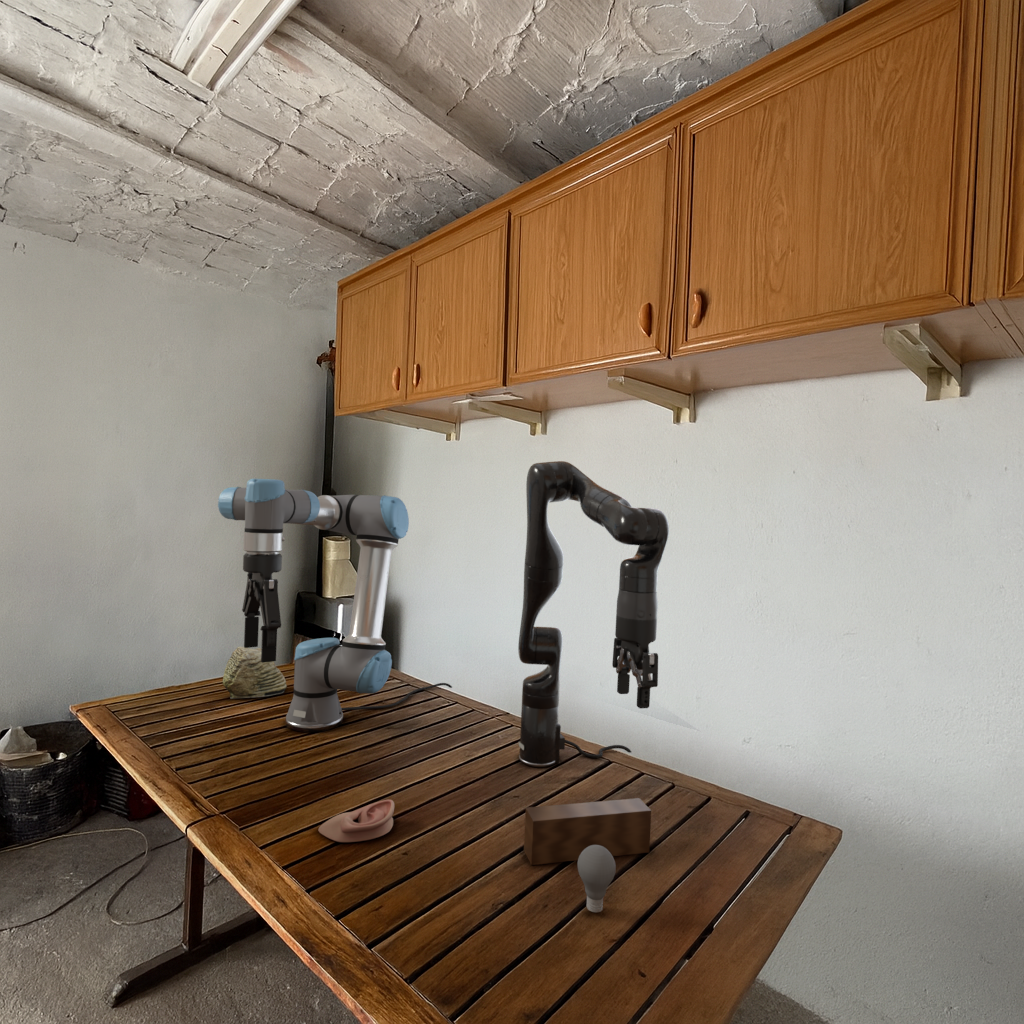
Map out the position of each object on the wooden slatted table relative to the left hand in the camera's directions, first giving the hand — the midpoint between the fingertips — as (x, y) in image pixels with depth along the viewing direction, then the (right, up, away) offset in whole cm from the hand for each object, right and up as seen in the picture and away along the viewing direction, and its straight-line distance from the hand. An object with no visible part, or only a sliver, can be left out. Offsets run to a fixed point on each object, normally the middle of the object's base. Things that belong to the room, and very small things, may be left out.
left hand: (259, 654), depth 132 cm
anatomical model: (+23, -31, -11) cm, 40 cm away
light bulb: (+66, -33, -32) cm, 81 cm away
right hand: (+76, -6, -14) cm, 77 cm away
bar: (+67, -33, -15) cm, 76 cm away
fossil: (-28, -28, +66) cm, 76 cm away
